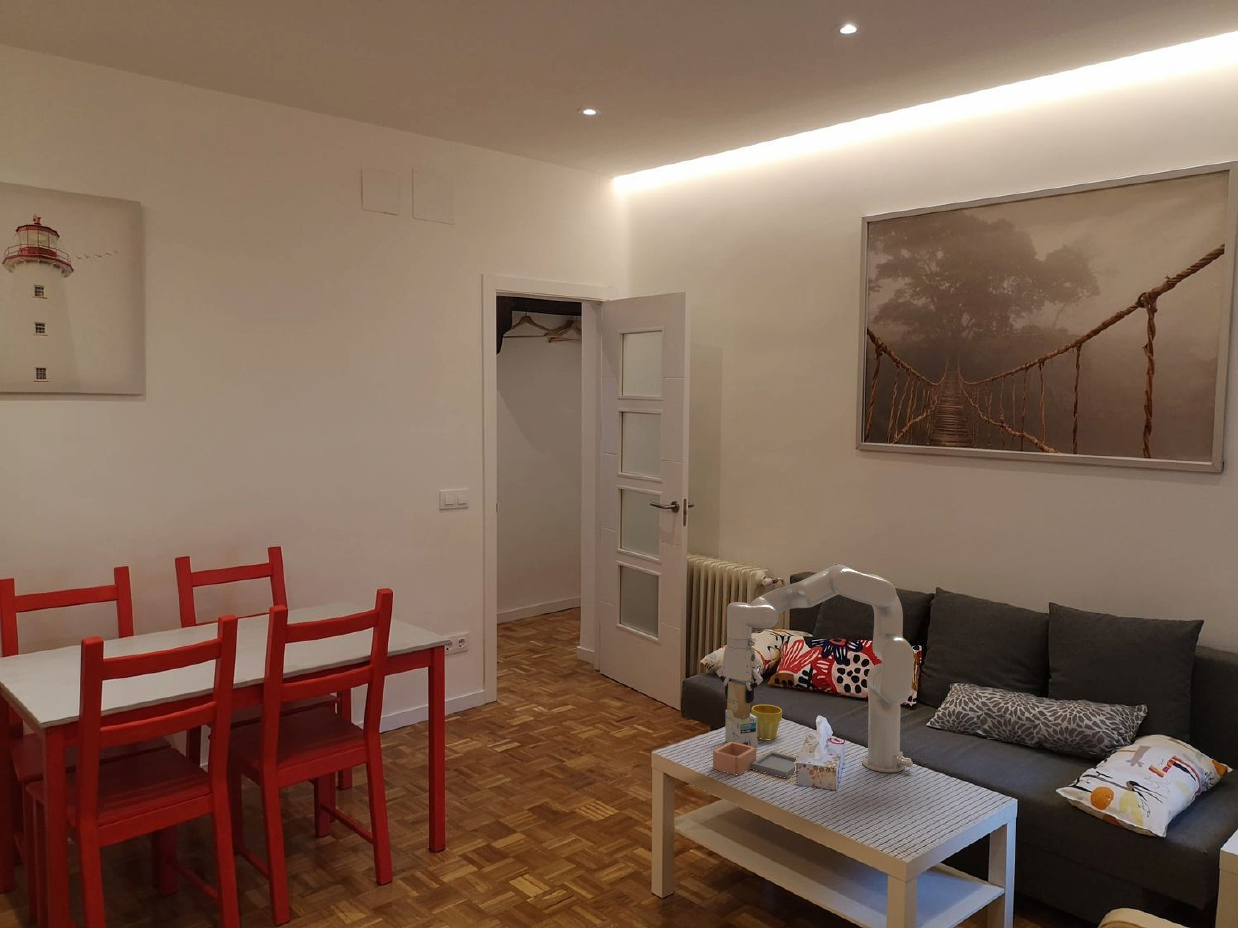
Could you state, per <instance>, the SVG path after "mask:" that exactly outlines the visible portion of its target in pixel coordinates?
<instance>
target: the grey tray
mask: <svg viewBox="0 0 1238 928" xmlns="http://www.w3.org/2000/svg"><path fill="white" fill-rule="evenodd" d="M796 758H798V757H796V756H793V755H788V754H786V753H780V752H777V751H773V750H770V751H769V752H767V753H766V754H764V755H762V756H760V757H758V758H756V760H755V761H754V762H752V763H751V769H754V770H753V771H755V770H757V771H756V772H759V771H762V772H766V773H768V774H767V775H770V774H771V776H774V775H778V776H781V777H785V778H787V779H789V778H788V776H789V775H792V774H793V773H794V771H795V764H794V762H795V760H796ZM751 769H750V770H751ZM762 772H761V773H762ZM766 773H765V774H766ZM793 775H794V774H793ZM793 775H792V776H793ZM781 777H780V778H781ZM785 778H784V779H785Z"/></svg>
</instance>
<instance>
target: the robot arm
mask: <svg viewBox="0 0 1238 928" xmlns="http://www.w3.org/2000/svg"><path fill="white" fill-rule="evenodd" d="M837 595H840V596H842V597H845V598H848V599H850V600H853V601H856V602H860V603H864V604H866V605H870V606H872V609H873V615H874V618H873V619H874V621H873V634H872V635H873V636H872V637H873V638H872V652H873V654H874V656H876V658H877V659H879V660H880V662H881V663H878V664H875V665H873V666H872V667H871V668H870V669H869V671H868V672H867V677H866V686H867V687H866V688H867V695H868V719H867V721H868V722H867V724H868V725H867V726H868V727H867V729H868V730H867V735H868V736H867V737H868V738H867V755H866V756H864V757H863V759H862V764H863V766H864V767H865V768H867V769H870V770H871V771H875V772H880V773H886V774H887V773H888V774H889V773H898V772H902V771H904V769H905V767H906V768H913V764H914V762H913V761H912V758H910V757H909V758H908V757H904V756H903V755H904V753H903V751H901V749H900V747H901V746H900V745H901V704H904V703H905V702H906V701H908V699H909V697H910V695H911V693H912V687H913V676H914V664H915V663H914V662H915V661H914V659H915V657H914V651H913V648H912V645H911V644H910V643H909V642H908V641H907V639H905V638H904V637H903V636H904V635H903V634H904V633H903V630H904V629H903V625H904V623H903V622H904V617H903V616H904V614H903V613H904V612H903V607H902V603H901V601H900V597H899V596H898V594H897V590H896V587H895V586H894V584H893V583H892V582H891V581H889V580H887V579H885V578H884V577H882V576H879V575H877V574H874V573H868V574H866V573H863V572H860V571H856V570H854V569H853V568H850V567H848V566H846V565H844V564H834V565H832V566H830V567H828V568H825V569H822V570H821V571H819V572H816V573H814V574H812V575H810V576H808V577H806V578H804V579H802V580H799V581H798V582H794V583H790V584H788V585H785V586H781V587H778V588H776V589H773V590H770V591H768V592H766V593H764V594H762V595H760V596H758V597H756V598H755V599H753V600H752V601H751V602H750V603H747V602H743V601H742V602H741V601H735V602H730V603H728V604H727V607H726V645H725V647H724V652H723V659H722V666H720V667H719V668H718V669H717V670H716V671H715V673H716V675H717V676H718V677H719V679H720V680H721V682H722V684H723V686H724V695H725V700H727V698H728V682H729V681H732V680H740V681H744V682H745V683H746V686H747V688H748V690H747V691H746V703H748V704H749V703H751V704H752V703H753V702H754V699H755V689H756V688H758V686H759V685H760V684H761V683H762V682H763V680H764V679H763V677H762V676H761V674H760V673H759V672H758V666H757V656H756V650H755V646H756V641H753V638H752V633H753V632H752V630H753V629H752V628H757V629H771V628H773V627H775V625H776V624H777V623H778V621H779V614H780V613H782V612H784V611H788V610H791V609H792V610H793V609H806V608H812V607H814V606H816V605H819V604H820V603H822V602H825V601H827V600H829V599H831V598H833V597H836V596H837ZM752 646H753V647H752ZM754 680H755V681H754Z"/></svg>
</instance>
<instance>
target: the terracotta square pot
mask: <svg viewBox="0 0 1238 928" xmlns="http://www.w3.org/2000/svg"><path fill="white" fill-rule="evenodd" d="M755 760H757V749H756V748H754V747H752V746H748V745H744V744H740V743H736V742H727V743H725V744H723V745H721V746H720V747H717V748H715V749H713V750H712V768H715V769H716V770H715V769H714V770H715V771H717V770H719V771H718V772H721V771H725V772H728V773H731V774H730V775H732V774H734V775H733V776H738V775H740V776H742V775H743V774H745V773H746V772H745V771H747V772H748V771H750V770H751V769H750V768H751V763H752V762H754V761H755ZM749 769H750V770H749ZM744 772H745V773H744ZM728 773H727V774H728ZM742 773H743V774H742ZM736 774H737V775H736ZM741 774H742V775H741Z"/></svg>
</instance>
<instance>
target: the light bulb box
mask: <svg viewBox="0 0 1238 928" xmlns="http://www.w3.org/2000/svg"><path fill="white" fill-rule="evenodd" d="M757 722H758V717H756V716H754V715H752V714H751V712H750V722H748V723H745V724H743V725H741V724H738V723H735V722H732V721H729V720H727V709H725V733H724V734H725V740H724V741H725V742H726V741H727V743H728V742H736V743H740V744H744V745H748V746H752V747H754V748H757V749H758V738H757Z"/></svg>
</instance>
